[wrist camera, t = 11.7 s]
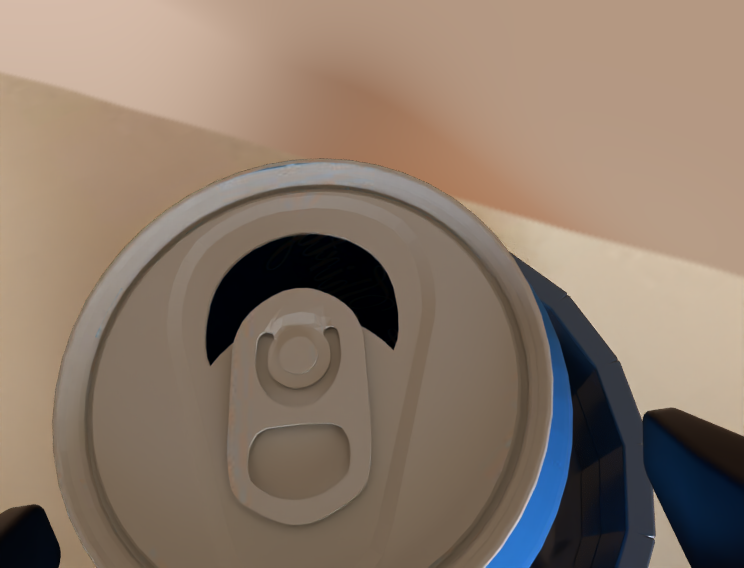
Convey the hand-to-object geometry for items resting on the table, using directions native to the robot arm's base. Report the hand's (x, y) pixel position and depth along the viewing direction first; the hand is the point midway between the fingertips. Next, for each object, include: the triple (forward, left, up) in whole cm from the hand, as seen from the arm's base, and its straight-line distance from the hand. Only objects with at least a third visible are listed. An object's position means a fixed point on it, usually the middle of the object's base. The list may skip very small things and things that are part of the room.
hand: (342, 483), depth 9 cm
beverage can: (0, -1, -9) cm, 9 cm away
